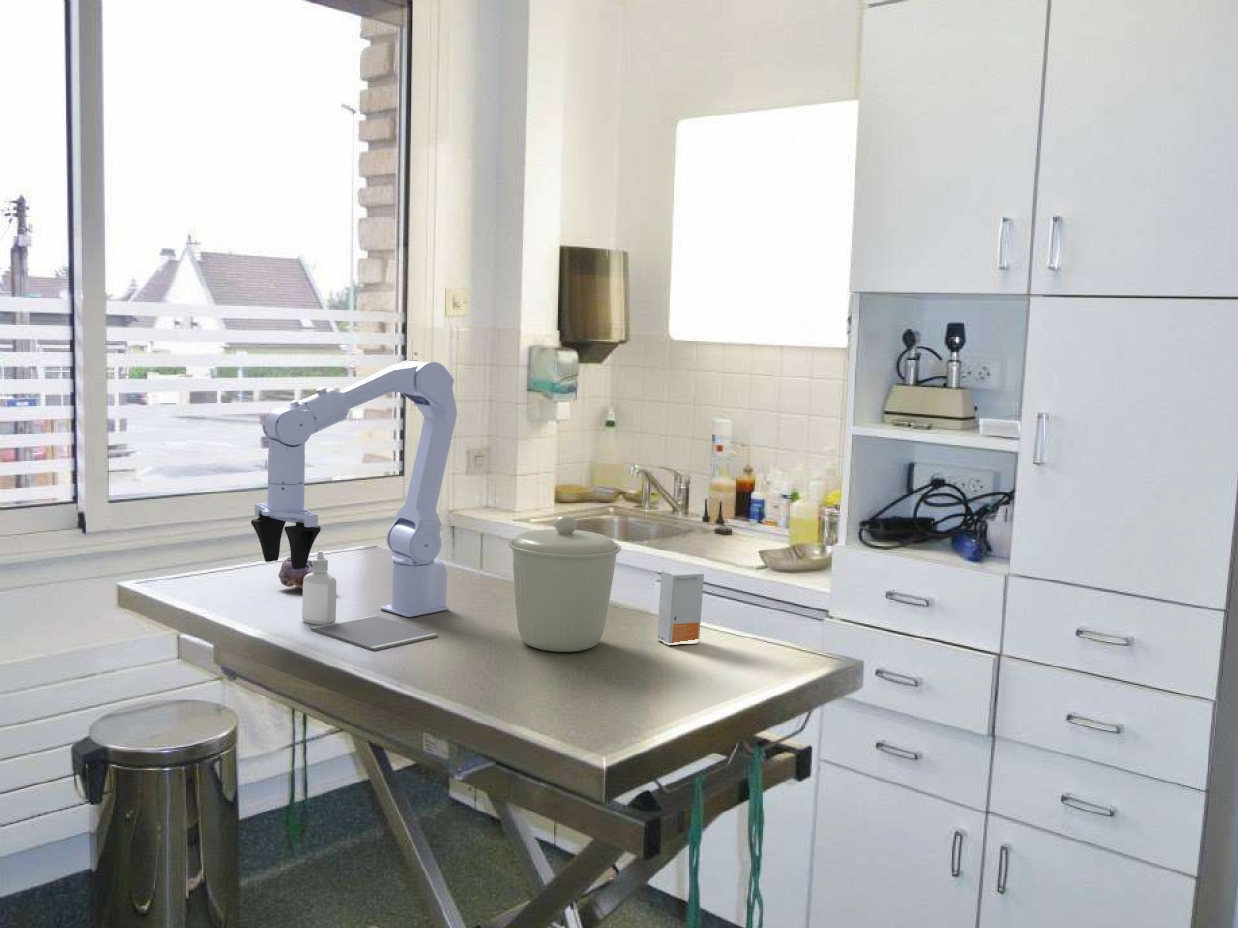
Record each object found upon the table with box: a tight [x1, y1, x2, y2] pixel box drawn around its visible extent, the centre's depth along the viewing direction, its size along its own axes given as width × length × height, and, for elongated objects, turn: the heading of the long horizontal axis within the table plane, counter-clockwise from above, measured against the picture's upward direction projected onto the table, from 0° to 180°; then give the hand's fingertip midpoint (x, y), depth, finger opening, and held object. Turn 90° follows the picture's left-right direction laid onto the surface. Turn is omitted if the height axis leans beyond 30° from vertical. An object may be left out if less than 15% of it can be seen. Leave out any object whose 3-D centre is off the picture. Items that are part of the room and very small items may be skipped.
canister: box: [507, 515, 622, 653], centre depth 178 cm, size 18×18×21 cm
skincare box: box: [656, 568, 705, 643], centre depth 184 cm, size 6×4×12 cm
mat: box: [310, 614, 438, 652], centre depth 180 cm, size 13×16×1 cm
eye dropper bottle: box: [301, 550, 337, 626], centre depth 185 cm, size 4×6×12 cm
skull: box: [278, 556, 313, 590], centre depth 207 cm, size 12×8×6 cm, turn 54°
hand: (285, 564), depth 181 cm, fingers open, 7 cm apart
